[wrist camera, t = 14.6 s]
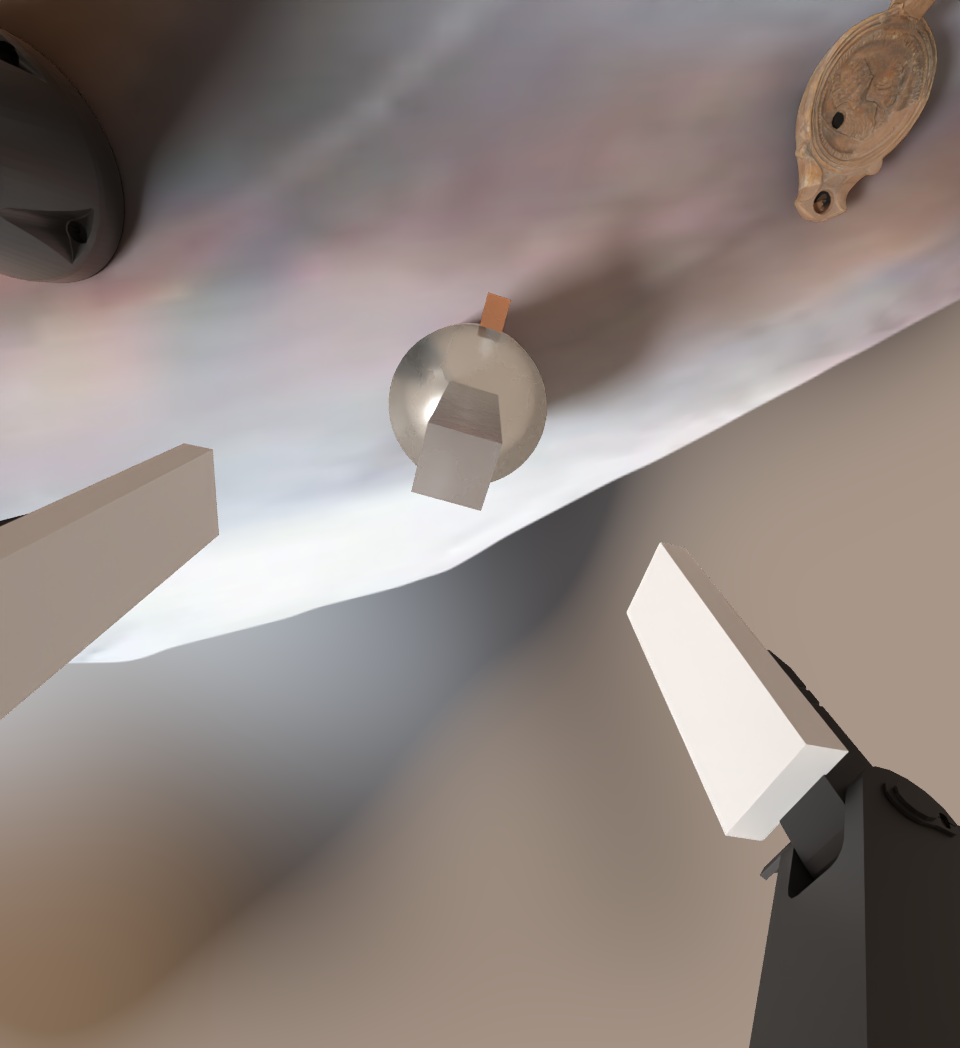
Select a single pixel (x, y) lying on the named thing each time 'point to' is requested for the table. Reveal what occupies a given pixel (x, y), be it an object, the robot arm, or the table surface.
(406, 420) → the lid
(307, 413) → the table surface
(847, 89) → the oil lamp
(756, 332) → the table surface
